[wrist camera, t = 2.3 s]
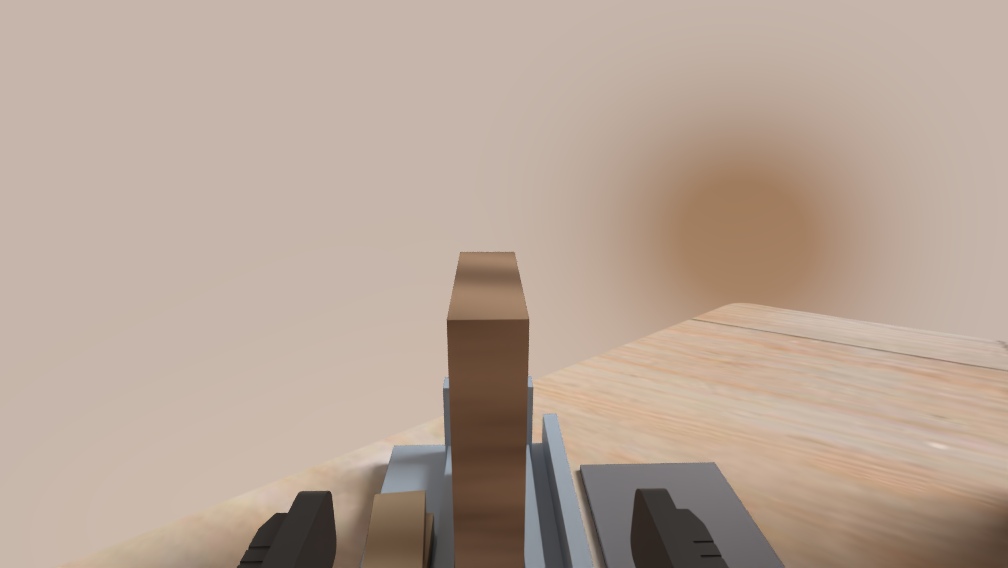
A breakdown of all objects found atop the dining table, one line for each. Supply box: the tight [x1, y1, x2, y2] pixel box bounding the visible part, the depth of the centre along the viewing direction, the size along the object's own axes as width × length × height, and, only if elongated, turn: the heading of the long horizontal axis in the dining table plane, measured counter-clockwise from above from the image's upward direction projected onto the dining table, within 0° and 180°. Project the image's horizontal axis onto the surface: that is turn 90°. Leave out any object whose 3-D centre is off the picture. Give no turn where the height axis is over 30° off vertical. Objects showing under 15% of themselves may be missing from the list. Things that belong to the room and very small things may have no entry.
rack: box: [359, 376, 594, 568], centre depth 26 cm, size 22×12×8 cm, turn 2°
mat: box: [580, 462, 785, 568], centre depth 31 cm, size 14×10×1 cm
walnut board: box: [447, 252, 529, 568], centre depth 26 cm, size 10×3×16 cm, turn 2°
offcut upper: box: [362, 490, 426, 568], centre depth 26 cm, size 6×3×2 cm, turn 7°
